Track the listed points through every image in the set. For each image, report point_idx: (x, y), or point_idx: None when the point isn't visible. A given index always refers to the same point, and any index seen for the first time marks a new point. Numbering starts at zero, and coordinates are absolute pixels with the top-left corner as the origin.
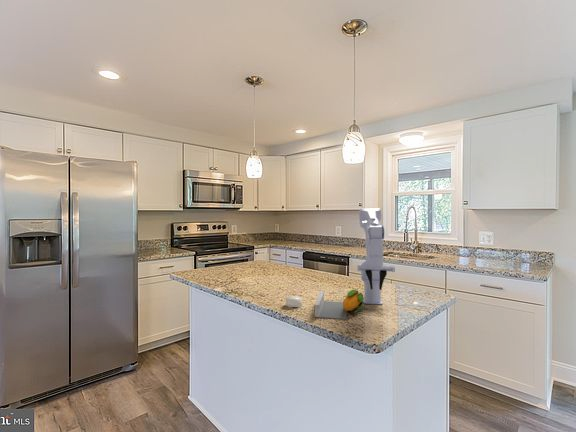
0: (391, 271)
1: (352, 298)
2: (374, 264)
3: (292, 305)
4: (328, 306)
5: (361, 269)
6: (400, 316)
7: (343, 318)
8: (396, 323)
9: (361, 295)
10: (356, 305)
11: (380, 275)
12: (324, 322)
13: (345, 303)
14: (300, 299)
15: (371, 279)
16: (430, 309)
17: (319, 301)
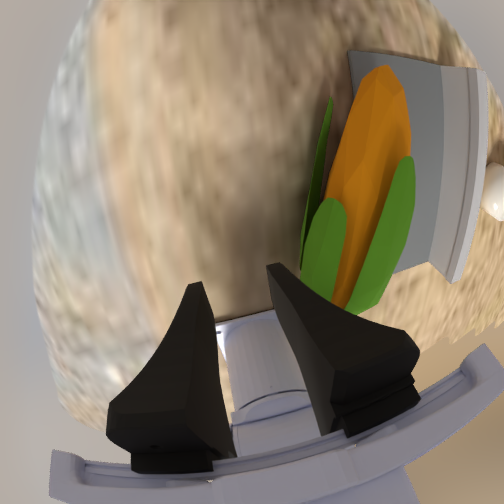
0: (89, 460)
1: (378, 166)
2: None
3: (499, 165)
4: (423, 202)
5: (455, 385)
6: (97, 199)
7: (362, 52)
8: (99, 83)
9: (325, 262)
10: (334, 162)
11: (190, 390)
12: (412, 19)
13: (400, 90)
14: (499, 188)
15: (308, 317)
16: (48, 330)
17: (481, 120)
